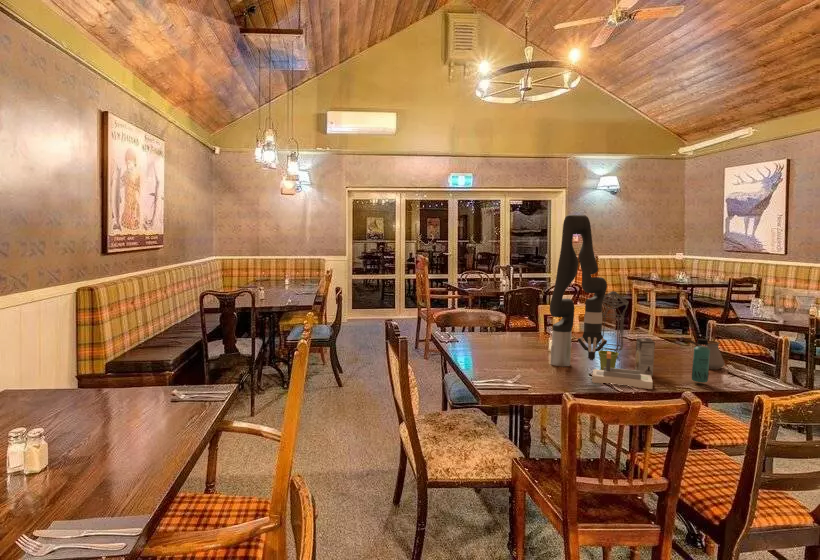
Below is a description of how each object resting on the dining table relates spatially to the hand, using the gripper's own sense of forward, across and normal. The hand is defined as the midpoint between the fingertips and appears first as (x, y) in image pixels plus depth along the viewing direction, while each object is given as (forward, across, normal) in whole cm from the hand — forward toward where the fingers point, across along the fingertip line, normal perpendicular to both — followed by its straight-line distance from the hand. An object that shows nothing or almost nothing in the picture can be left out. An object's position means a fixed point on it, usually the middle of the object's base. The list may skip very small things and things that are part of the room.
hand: (591, 359), depth 228 cm
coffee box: (+9, +23, +21) cm, 32 cm away
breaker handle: (+6, +7, 0) cm, 9 cm away
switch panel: (+9, +13, 0) cm, 16 cm away
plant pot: (+9, +7, +19) cm, 22 cm away
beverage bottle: (+9, +45, +12) cm, 47 cm away
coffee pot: (+9, +50, +46) cm, 69 cm away
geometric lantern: (+8, +8, +55) cm, 56 cm away
